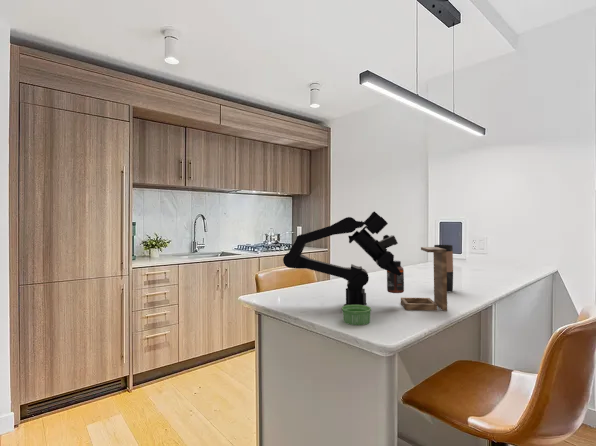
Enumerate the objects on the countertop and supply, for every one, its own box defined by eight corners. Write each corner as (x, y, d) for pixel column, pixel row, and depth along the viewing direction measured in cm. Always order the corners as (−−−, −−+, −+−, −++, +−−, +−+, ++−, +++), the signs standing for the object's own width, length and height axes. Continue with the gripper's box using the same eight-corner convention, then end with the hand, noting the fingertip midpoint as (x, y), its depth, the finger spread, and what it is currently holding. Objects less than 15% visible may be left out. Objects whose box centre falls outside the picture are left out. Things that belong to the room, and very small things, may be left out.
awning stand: (405, 309, 121) (405, 249, 121) (400, 302, 132) (399, 247, 132) (447, 310, 119) (446, 249, 119) (438, 303, 130) (437, 247, 130)
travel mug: (453, 289, 156) (452, 244, 156) (453, 292, 149) (452, 245, 149) (435, 288, 159) (434, 244, 159) (434, 291, 152) (433, 245, 152)
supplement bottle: (406, 291, 127) (406, 260, 127) (399, 294, 122) (399, 262, 122) (391, 290, 131) (391, 259, 131) (384, 292, 126) (383, 261, 126)
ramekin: (377, 322, 107) (377, 308, 107) (356, 328, 101) (356, 313, 101) (356, 316, 114) (356, 303, 114) (336, 321, 109) (335, 307, 109)
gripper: (387, 228, 118) (421, 260, 117) (380, 227, 136) (409, 255, 135) (363, 251, 119) (397, 284, 118) (360, 247, 137) (389, 275, 136)
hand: (399, 273), depth 127 cm, fingers closed on supplement bottle, 6 cm apart
